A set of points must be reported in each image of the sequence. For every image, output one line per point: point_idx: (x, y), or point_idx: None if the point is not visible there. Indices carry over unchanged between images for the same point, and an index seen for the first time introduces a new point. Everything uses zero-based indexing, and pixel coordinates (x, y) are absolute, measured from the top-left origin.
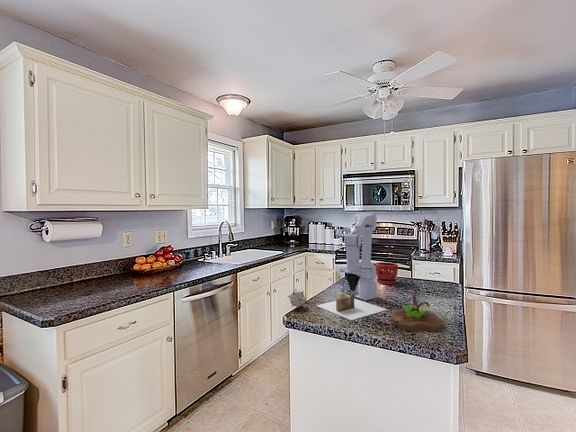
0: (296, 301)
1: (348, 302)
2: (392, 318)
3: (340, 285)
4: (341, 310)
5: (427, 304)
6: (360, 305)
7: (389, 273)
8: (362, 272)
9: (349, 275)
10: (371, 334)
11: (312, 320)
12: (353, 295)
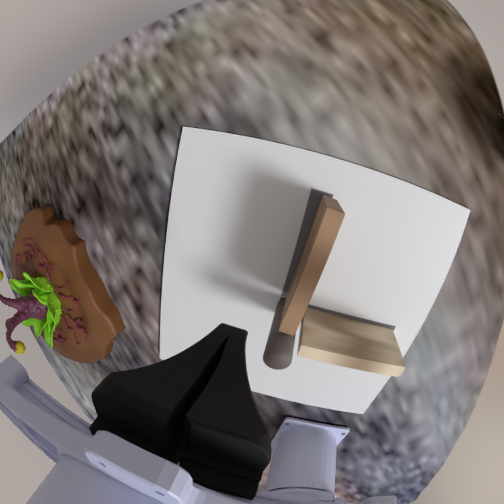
0: None
1: (290, 292)
2: (68, 243)
3: (429, 465)
4: (311, 221)
5: (7, 321)
6: None
7: None
8: (15, 421)
9: (205, 453)
10: (76, 82)
11: (342, 3)
12: (266, 347)
